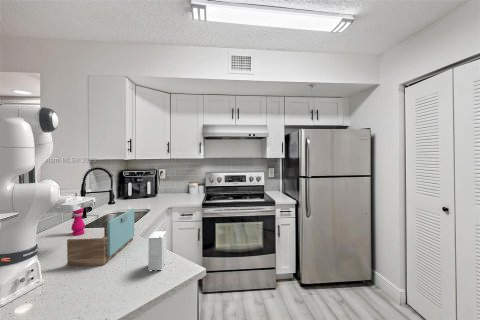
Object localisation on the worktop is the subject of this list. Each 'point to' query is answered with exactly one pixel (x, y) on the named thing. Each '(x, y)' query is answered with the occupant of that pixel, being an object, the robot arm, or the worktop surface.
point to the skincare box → (157, 250)
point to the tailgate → (119, 231)
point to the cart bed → (89, 250)
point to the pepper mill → (78, 223)
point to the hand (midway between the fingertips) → (94, 203)
